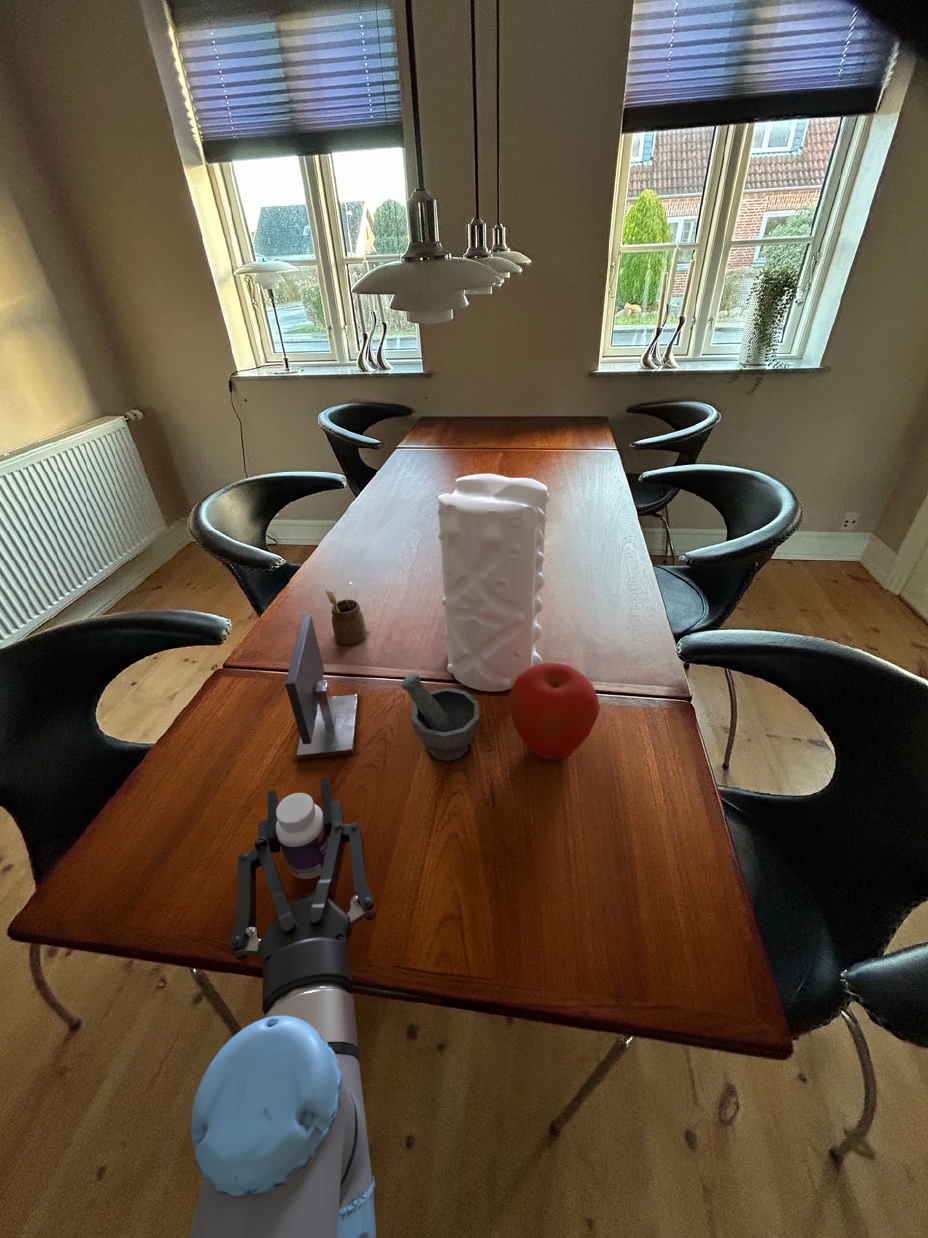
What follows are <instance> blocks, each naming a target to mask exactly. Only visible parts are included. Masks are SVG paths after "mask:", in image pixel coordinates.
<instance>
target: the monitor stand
mask: <svg viewBox="0 0 928 1238" xmlns="http://www.w3.org/2000/svg"><path fill="white" fill-rule="evenodd" d="M316 694H317V698H318V702H319V703H318V709H317V715H316V720H315V726H314V732H313V738H312V743H311V744H304V745H303V743H302V740H301V737H300V736H299V741H298V746H297V751H296V758H297V760H298V761H299V760H309V759H316V758H317V759H319V758H326V757H336V756H347V755H353V754H354V747H355V734H356V723H357V712H358V711H357V710H358V700H359V699H358V695H357V694H356V693H355V694H348V695H347V694H346V695H337V696H332V695H331V691H330V686H329V682H328V680H327V679H325V680H322V681H318V683H317V688H316Z"/></svg>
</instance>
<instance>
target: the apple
mask: <svg viewBox="0 0 928 1238" xmlns="http://www.w3.org/2000/svg"><path fill="white" fill-rule="evenodd" d="M506 697H507V703H508V707H509V712H510V716H511V721H512V724H513V727H514V729H515V731H516V732H517V734H518V736H519V737H520V738H521V740H522V742H523V744H524V745H525V746H526V748H527V750H529V751H530V752H531V753H533V754H534V755H536V756H538V757H540V758H543V759H546V760H562V759H564V758H568V757H570V756H571V755H573V753H575V751H576V750H578V748H579V747H580V746H581V745H582V744H583V742H585V740H586V739H587V738H588V737H589V736H590V734H591V732H592V730H593V727H594V725H595V724H596V721H597V718H598V716H599V713H600V710H601V705H600V702H599V699H598V695H597V692H596V690H595V687H594V685H593V683H592V682H591V681H590V680H589V679H588V678H587V677H586V676H585V675H584V674H583V673H582V672H580V671H578V670H577V669H575V668H573V667H572V666H570V665H568V664H563V663H559V662H543V663H542V664H540V665H536V666H533V667H530V668H528V669H526V670H525V671H524V672H522V673H521V674H520V675H518V677H517V679H516V681H515V683H514V685H513V687H512V688H511V689H510V691H509V693H508V695H507V696H506Z"/></svg>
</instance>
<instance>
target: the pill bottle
mask: <svg viewBox="0 0 928 1238" xmlns="http://www.w3.org/2000/svg"><path fill="white" fill-rule="evenodd" d="M276 816H277V819H278V820H277V823H276V835H277V838H278V841H279V843H280V849H281V850H282V854H283V856H284V859H285V861H286V864H287V866H288V869H289V871H290V872H291V874H292V875H293V876H295V877H296V878H298V879H301V880H309V879H315V878H317V877H319V876H321V872H322V868H323V863H324V859H325V854H326V850H327V845H328V841H329V837H328V834H327V831H326V827H325V824H324V812H323V809H322V808H321V807H320V806H319V805H318V804H315V802H314V800H313V798H312V796H310V795H309V794H308V793H305V792H294V793H291V794H289V795H287V796H285V797H284V798H282V799H281V801H279V805H278V807H277V810H276Z"/></svg>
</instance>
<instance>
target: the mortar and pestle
mask: <svg viewBox="0 0 928 1238" xmlns="http://www.w3.org/2000/svg"><path fill="white" fill-rule="evenodd" d="M401 688H402V689H403V690H404V691H407V693H408V695H409V696H410V698H411V700H412V701H413V707H412V716H411V723H412V727H413V730H414V733H415V734H416V736H417V737H418V738H419V740H421V741H422V743H423V744H424V745H425V746H426V747H427V750H428V752H429V753H431V754H430V755H432V756H433V757H434V759H438V760H442V761H447V762H449V761H452V760H456V759H460V758H462V756H463V755H464V754H465V753H466V752H467V751H468V750H469V743H470V742H471V741H472V740H473V739H474V738H475V737H476V735H477V734H478V732H479V728H480V702H479V701H478V700H476V698H474V697H473V696H472V695H471V694H470V693H469V692H468V691H467V690H461V689H458V688H452V687H444V688H438V689H435V690H430V691H429V690H428V689H427V687H426V686H425V685H424V684H423V683H422V681H421V676H419V674H417V673H412V674H409V675H407V676H406V677H405V678H404V679H403V680H402V682H401Z"/></svg>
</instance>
